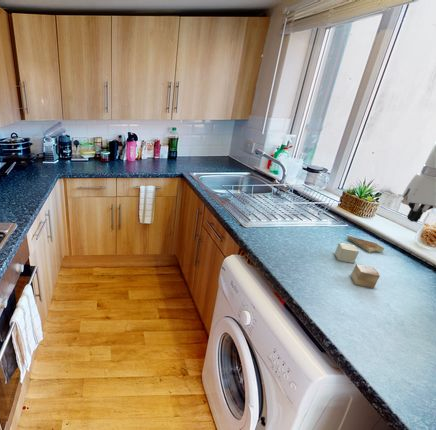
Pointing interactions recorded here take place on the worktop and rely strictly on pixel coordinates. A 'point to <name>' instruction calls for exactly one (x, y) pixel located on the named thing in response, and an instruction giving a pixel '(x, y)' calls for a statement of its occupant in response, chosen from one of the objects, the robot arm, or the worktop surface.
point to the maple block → (365, 276)
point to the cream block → (346, 252)
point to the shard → (366, 244)
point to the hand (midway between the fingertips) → (412, 220)
